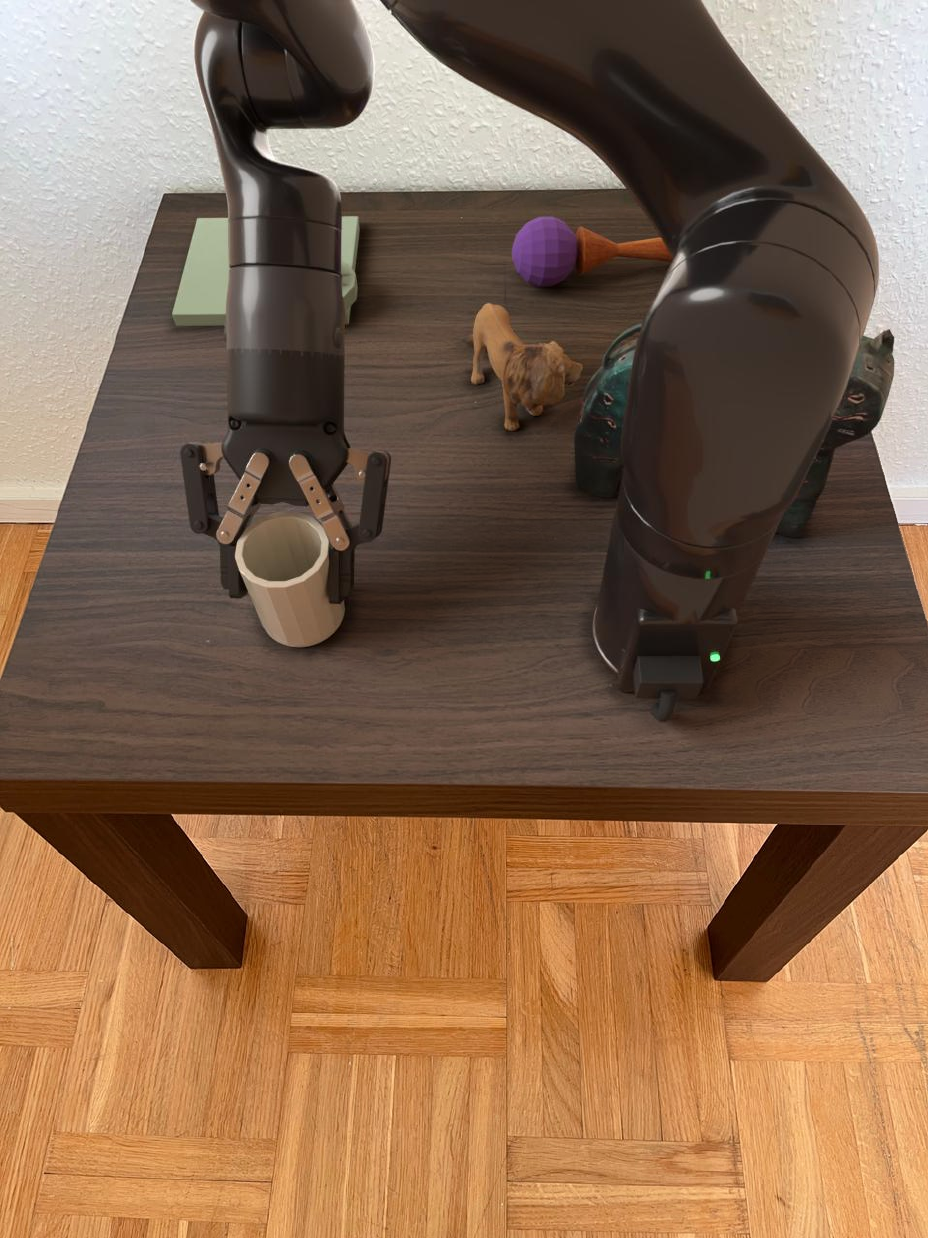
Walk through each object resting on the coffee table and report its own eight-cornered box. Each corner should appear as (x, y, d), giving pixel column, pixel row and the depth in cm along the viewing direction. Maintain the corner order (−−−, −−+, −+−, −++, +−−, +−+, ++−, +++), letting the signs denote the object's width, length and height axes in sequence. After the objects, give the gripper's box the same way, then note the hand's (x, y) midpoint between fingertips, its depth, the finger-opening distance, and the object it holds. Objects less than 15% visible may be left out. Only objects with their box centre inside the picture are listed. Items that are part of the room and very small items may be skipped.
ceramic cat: (825, 500, 72) (930, 291, 55) (817, 565, 69) (926, 365, 52) (579, 449, 75) (605, 237, 58) (560, 509, 72) (583, 303, 55)
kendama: (740, 248, 82) (521, 254, 80) (718, 294, 87) (512, 301, 85) (727, 197, 84) (513, 202, 82) (706, 245, 89) (505, 250, 87)
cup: (341, 647, 66) (323, 587, 59) (256, 647, 66) (228, 587, 59) (348, 576, 69) (332, 511, 62) (267, 576, 69) (242, 511, 62)
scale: (356, 330, 83) (352, 303, 81) (174, 332, 84) (164, 305, 81) (367, 228, 91) (363, 200, 88) (200, 230, 91) (192, 202, 89)
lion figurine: (583, 432, 76) (594, 350, 68) (531, 460, 75) (536, 379, 67) (484, 332, 83) (484, 246, 75) (435, 356, 81) (430, 271, 74)
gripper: (404, 354, 62) (398, 593, 66) (198, 345, 63) (205, 582, 67) (387, 348, 55) (381, 618, 59) (154, 339, 56) (164, 605, 60)
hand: (287, 598), depth 63 cm, fingers closed on cup, 6 cm apart
